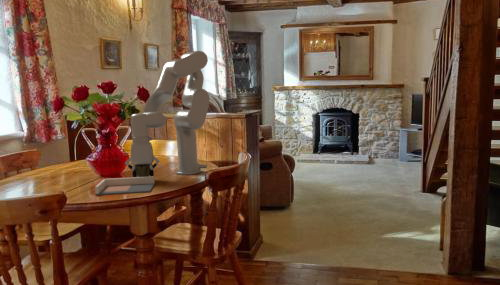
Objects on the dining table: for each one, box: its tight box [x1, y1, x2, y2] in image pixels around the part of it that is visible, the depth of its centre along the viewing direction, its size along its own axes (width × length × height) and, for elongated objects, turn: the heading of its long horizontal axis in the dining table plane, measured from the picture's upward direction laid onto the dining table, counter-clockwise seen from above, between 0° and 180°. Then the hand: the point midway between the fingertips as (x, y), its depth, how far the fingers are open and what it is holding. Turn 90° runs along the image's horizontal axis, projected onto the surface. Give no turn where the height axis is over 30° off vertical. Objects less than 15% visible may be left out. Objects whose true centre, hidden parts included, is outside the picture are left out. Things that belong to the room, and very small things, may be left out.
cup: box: [135, 165, 150, 177], centre depth 201 cm, size 8×7×8 cm
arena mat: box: [95, 183, 156, 196], centre depth 186 cm, size 22×15×1 cm
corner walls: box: [94, 175, 156, 195], centre depth 185 cm, size 22×15×3 cm
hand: (143, 177), depth 202 cm, fingers closed on cup, 6 cm apart
